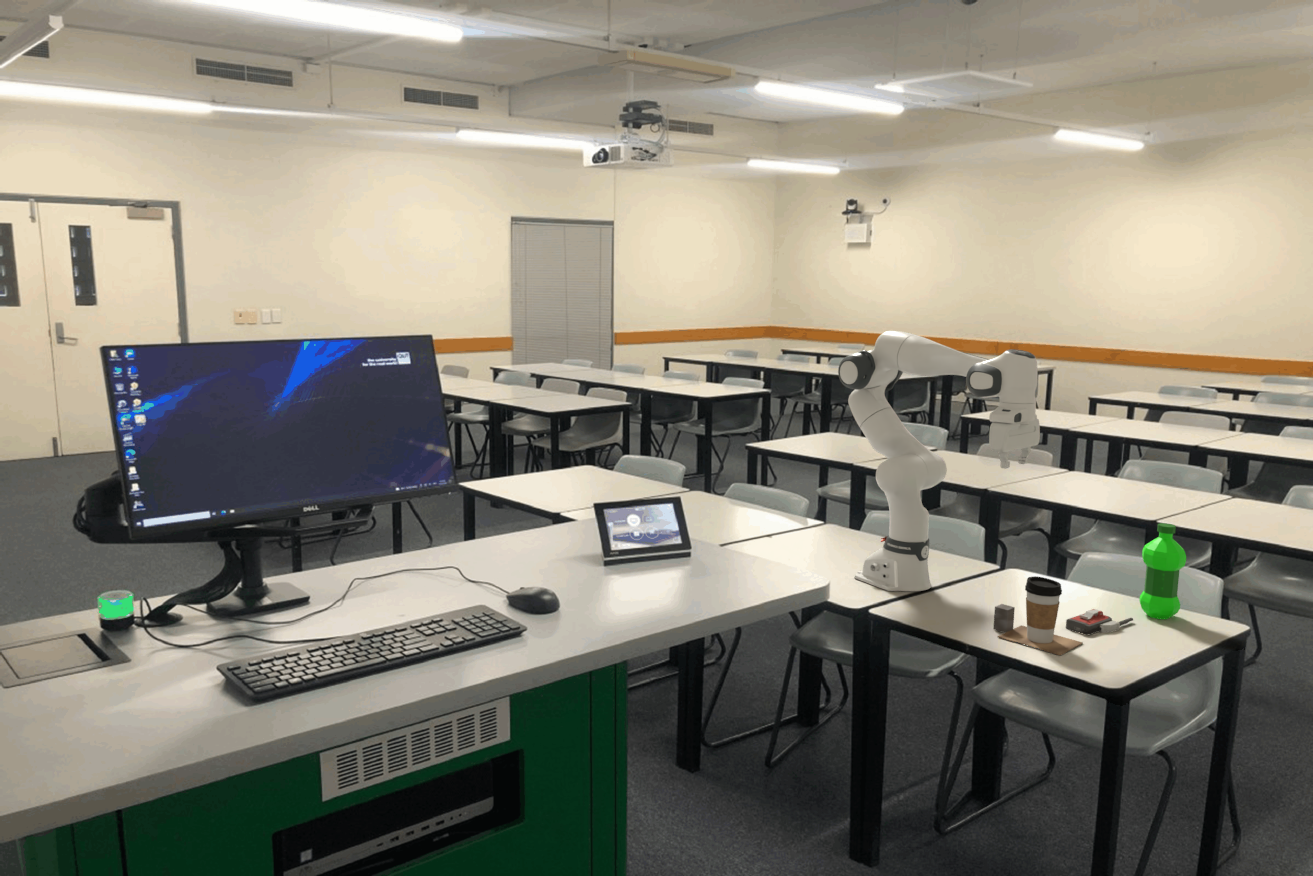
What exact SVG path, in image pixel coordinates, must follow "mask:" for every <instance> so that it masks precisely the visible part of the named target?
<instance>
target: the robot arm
mask: <svg viewBox="0 0 1313 876" xmlns="http://www.w3.org/2000/svg"><path fill="white" fill-rule="evenodd" d="M837 370H838V371H837V374H838V378H839V381H840V383H841V384H842V385H843V386H844V387H845V388H848V389H850V390H853V391H851V393H850V394H849V395H848V400H847V401H848V402H847V403H848V406H849V409H850V411H851V414H852V416H853V418H854V420H855V422H856V425H858V427H859V429H860V431H861V432H862V433H863V435H864V436H865V438H866V439H867V441H868V443H869V444H870V446H871V448H872V449H873V450H874V451H875V452H877V453H879V454H880V455H882V456H884V457H886V460H884V461H882V462H881V463H880V464H879V465H878V466H877V468H876V471H875V480H876V483H877V486H878V487H879V488H880V490H881V491H882V492H884V495H885V497H886V500H887V504H888V509H889V511H888V512H889V525H888V526H889V529H888V534H887V535H885V536H884V537H881V538H880V543H883V542H884V543H883V546H882V547H880V548H879V549H877V550H876V551H874V552H872V553H871V554H869V555H868V556H867V557H866V558H865V559H864V561H863V566H862V569H861V570H858V571H857V572H855V574H854V579H856V580H859V581H861V582H863V583H867V584H869V585H872V586H874V587H877V588H880V589H883V590H885V591H889V592H899V591H900V592H901V591H902V592H921V591H926V590H929V589H930V588H932V583H931V578H930V573H929V563H928V561H929V553H930V538H929V523H930V514H929V510H927V508H926V507H924V505H923V503H922V498H921V491H923V490H928V489H931V488H933V487H935V486H937V485H939V484H940V483H941V482H943V481H944V479H945V477H946V475H947V470H948V469H947V463H946V461H945V460H944V458H943V457H942V456H941V455H940V454H938V453H936V452H934V451H932V450H931V449H928V447H926V446H925V445H924V444H923V443H922V442H920V441H919V440H918V439H917V438H916V437H915V436H914V435H913V434H912V433H911V432H910V431H909V430H908V429H907V428H906V426H905V424H904V423H903V422H902V421H901V419H900V417H899V416H898V415H897V413H896V411H895V410H894V409H893V407H892V406H891V404H890V403H889V402H888V399H887V397H886V396H885V393H886V392H889V391H891V390H892V389H893V388H894V387H895V384H896V383H897V382H898V381H899V380H900V379H901V377H902V375H903V373H905V374H908V375H911V376H912V375H913V376H919V377H935V376H948V375H950V376H953V375H954V376H962V377H966V378H965V382H966V383H965V384H966V386H967V389H968V391H969V392H970V393H971V394H972V395H973V396H975V397H976V398H977V397H978V398H982V399H989V398H999V399H998V400H999V404H998V406H997V407H996V408H995V409H994V410H993V411H992V412H990V413H989V419H988V420H989V421H990V423H991V424H990V427H989V433H988V434H989V437H988V438H989V439H988V441H989V442H988V443H989V444H988V445H989V449H990V451H991V452H994V453H998V458H999V462H1000V468H1001V469H1004V470H1005V469H1009V468H1010V464H1011V461H1009V455H1010V452H1012V451H1018V450H1020V456H1018V461H1017V462H1018V464H1019V465H1026V464H1028V458H1029V456H1030V453H1031V451H1032V450H1031V448H1032V447H1035V446H1038V445H1039V443H1040V438H1041V437H1040V435H1041V433H1040V432H1041V430H1040V429H1041V425H1040V420H1039V419H1038V415H1037V414H1036V411H1037V409H1036V407H1037V398H1036V390H1037V387H1038V373H1039V372H1038V361H1037V358H1036V355H1035V354H1033V353H1032V352H1029V351H1027V350H1022V349H1015V348H1014V349H1006V350H1005V351H1004V352H1003V353H1002V354H1000V355H998V356H996V357H994V358H991V359H989V358H986V357H981V356H978V355H975V354H970V353H966V352H963V351H959V350H957V349H955V348H952V347H950V346H947V345H944V344H941V343H939V342H937V341H934V340H931V339H930V338H927V337H924V336H921V335H918V334H914V333H912V332H911V333H910V332H906V331H900V330H887V331H884V332H882V333H881V334H880V335H879V336H878V337H877V339H876V341H875V343H874V347H873V349H870V350H867V349H866V350H865V349H863V350H860V351H857V352H854V353H851V354H849V355H847V356H845V357H844V358H842V360H841V361H840V363H839V365H838V369H837Z"/></svg>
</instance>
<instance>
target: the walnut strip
mask: <svg viewBox="0 0 1313 876" xmlns="http://www.w3.org/2000/svg"><path fill="white" fill-rule="evenodd" d="M1015 611H1016V610H1015V606H1011V605H1007V604H1004V603H1001V604H998V605H995V606H994V615H993V630H995V631H998V632H1001V634H1000V635H997V638H998V637H999V638H998V639H1002V640H1005V639H1006V641H1008V640H1009V642H1012V641H1013V643H1015V642H1018V643H1017V644H1019V643H1021V644H1020V645H1022V644H1025V645H1028V646H1027V647H1029V646H1032V647H1035V648H1034V649H1036V648H1039V649H1041V650H1040V651H1042V650H1044V651H1043V652H1046V653H1050V654H1054V655H1058V656H1062V655H1064V654H1066V653H1068V652H1070V651H1072V650H1073V649H1075V648H1078V647H1080V646H1081V645H1083V644H1084V642H1083V641H1080V640H1075V639H1072V638H1068V637H1064V636H1061V635H1058V634H1054V635H1053V641H1052V642H1051V643H1036V642H1033V641H1030V640H1029V639H1028V638H1027V625H1026V626H1025V625H1019V626H1016V627H1014V623H1015V622H1014V621H1015ZM1025 645H1024V646H1025ZM1032 647H1031V648H1032ZM1039 649H1038V650H1039Z"/></svg>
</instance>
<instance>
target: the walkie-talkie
mask: <svg viewBox="0 0 1313 876" xmlns="http://www.w3.org/2000/svg"><path fill="white" fill-rule="evenodd" d="M1133 621H1134V618H1133V617H1128V618H1126V619H1123V620H1120V621H1115V620H1113V618H1112V617H1110V616H1108V615H1107V614H1104V612H1103V611H1102V610H1098V609H1096V608H1093V609H1092V608H1091V609H1090V610H1087V611H1085V613H1081V614H1079V615H1075V616H1072V617H1069V618H1067V619H1065V628H1066V630H1069V631H1072V630H1073V631H1072V632H1075V631H1076V632H1075V633H1078V632H1080V633H1079V634H1081V633H1083V634H1082V635H1084V634H1090V635H1093V634H1095V632H1096V633H1098V631H1100V633H1112V631H1113V632H1115V630H1116V631H1119V630H1120V628H1121V626H1124V625H1126V624H1128V623H1130V622H1133ZM1092 633H1093V634H1092Z"/></svg>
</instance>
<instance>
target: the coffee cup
mask: <svg viewBox="0 0 1313 876" xmlns="http://www.w3.org/2000/svg"><path fill="white" fill-rule="evenodd" d="M1024 590H1025V591H1026V597H1025V604H1026V605H1025V608H1026V610H1025V611H1026V612H1025V613H1026V627H1027V638H1028V639H1029V640H1030V641H1033V642H1036V643H1051V642H1052V641H1053V635H1055V628H1056V623H1057V619H1058V612H1059V608H1060V596H1061V595H1062V592H1063V590H1062V584H1061V583H1060V582H1058V581H1056V580H1053V579H1050V578H1046V577H1044V576H1043V577H1042V576H1029V577H1027V579H1026V584H1025V589H1024Z"/></svg>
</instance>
